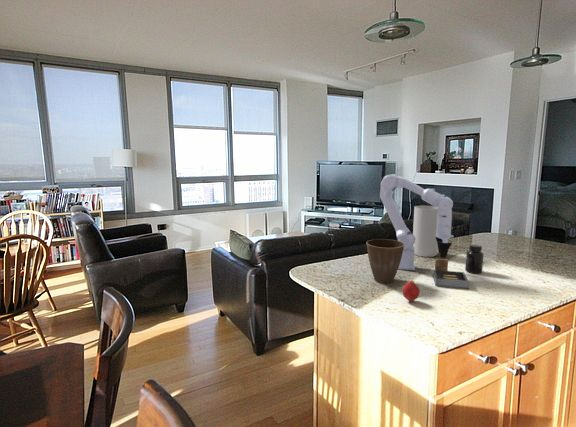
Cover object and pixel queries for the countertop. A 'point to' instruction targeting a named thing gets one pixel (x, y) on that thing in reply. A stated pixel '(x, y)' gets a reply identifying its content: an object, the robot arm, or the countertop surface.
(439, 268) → the tan wooden brick
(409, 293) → the onion
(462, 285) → the square metal tray
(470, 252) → the supplement bottle
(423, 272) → the countertop surface
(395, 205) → the robot arm
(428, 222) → the cylinder vase
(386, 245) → the plant pot
